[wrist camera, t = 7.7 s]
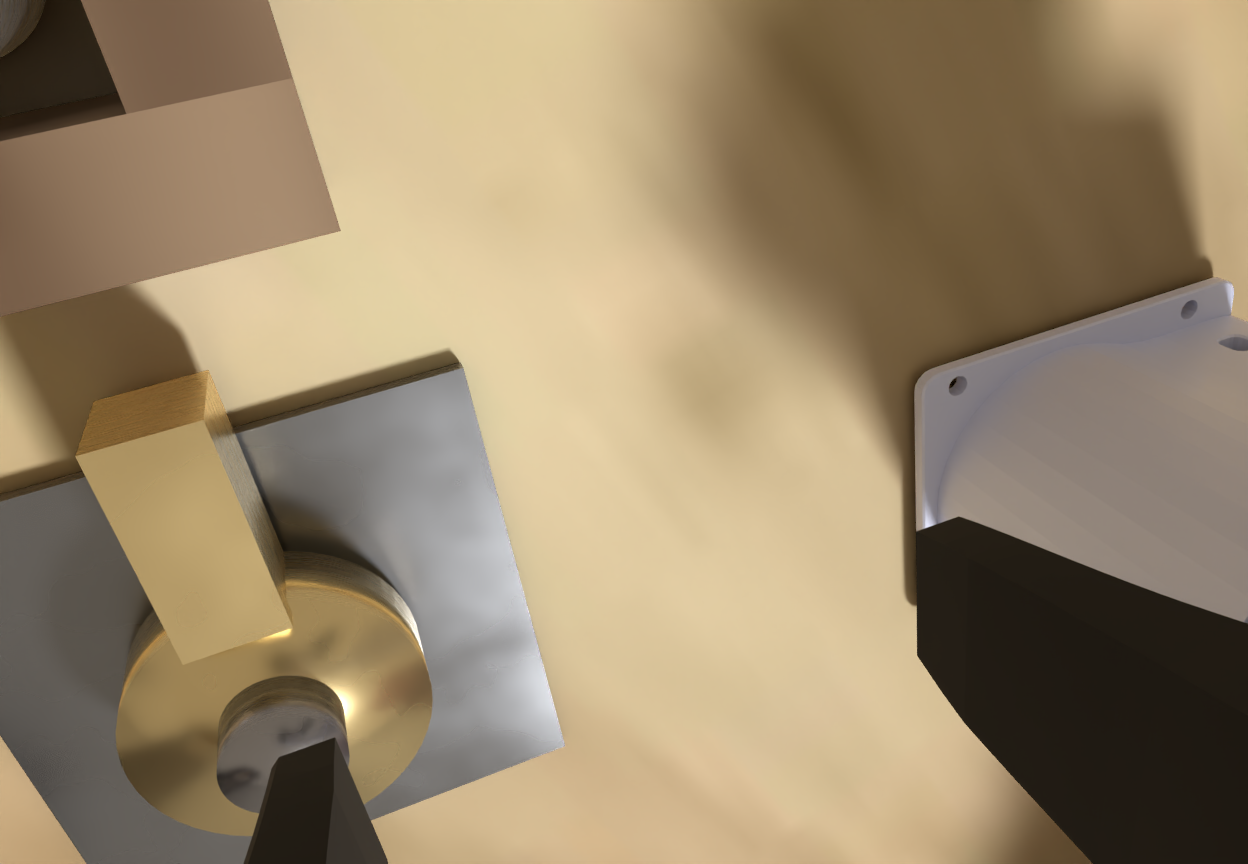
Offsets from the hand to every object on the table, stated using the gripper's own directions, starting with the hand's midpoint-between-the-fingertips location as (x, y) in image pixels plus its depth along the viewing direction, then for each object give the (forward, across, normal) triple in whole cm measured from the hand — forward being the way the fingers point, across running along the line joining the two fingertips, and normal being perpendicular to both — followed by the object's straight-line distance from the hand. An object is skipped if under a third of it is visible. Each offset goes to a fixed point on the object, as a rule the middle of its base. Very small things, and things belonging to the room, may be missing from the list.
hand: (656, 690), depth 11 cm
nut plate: (+10, +6, +5) cm, 13 cm away
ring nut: (+10, +6, +3) cm, 12 cm away
